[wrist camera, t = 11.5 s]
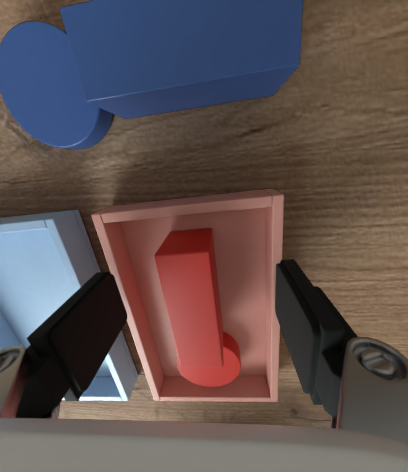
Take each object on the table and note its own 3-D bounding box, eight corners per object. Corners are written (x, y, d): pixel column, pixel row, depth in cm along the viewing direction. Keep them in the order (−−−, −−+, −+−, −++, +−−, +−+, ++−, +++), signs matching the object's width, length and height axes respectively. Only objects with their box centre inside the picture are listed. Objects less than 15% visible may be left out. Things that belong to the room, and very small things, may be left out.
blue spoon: (274, -10, 7) (309, -114, 5) (273, 121, 9) (298, 104, 6) (5, 48, 9) (-96, -5, 6) (46, 154, 10) (-19, 152, 7)
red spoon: (152, 232, 11) (130, 256, 8) (230, 225, 11) (234, 248, 8) (184, 370, 15) (176, 417, 12) (240, 370, 15) (246, 419, 12)
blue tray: (78, 209, 11) (52, 218, 9) (138, 375, 16) (128, 400, 15) (-53, 223, 12) (-98, 234, 10) (43, 375, 17) (23, 400, 16)
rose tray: (273, 188, 10) (284, 194, 8) (271, 374, 15) (277, 402, 13) (110, 205, 11) (90, 214, 9) (161, 375, 16) (154, 401, 14)
